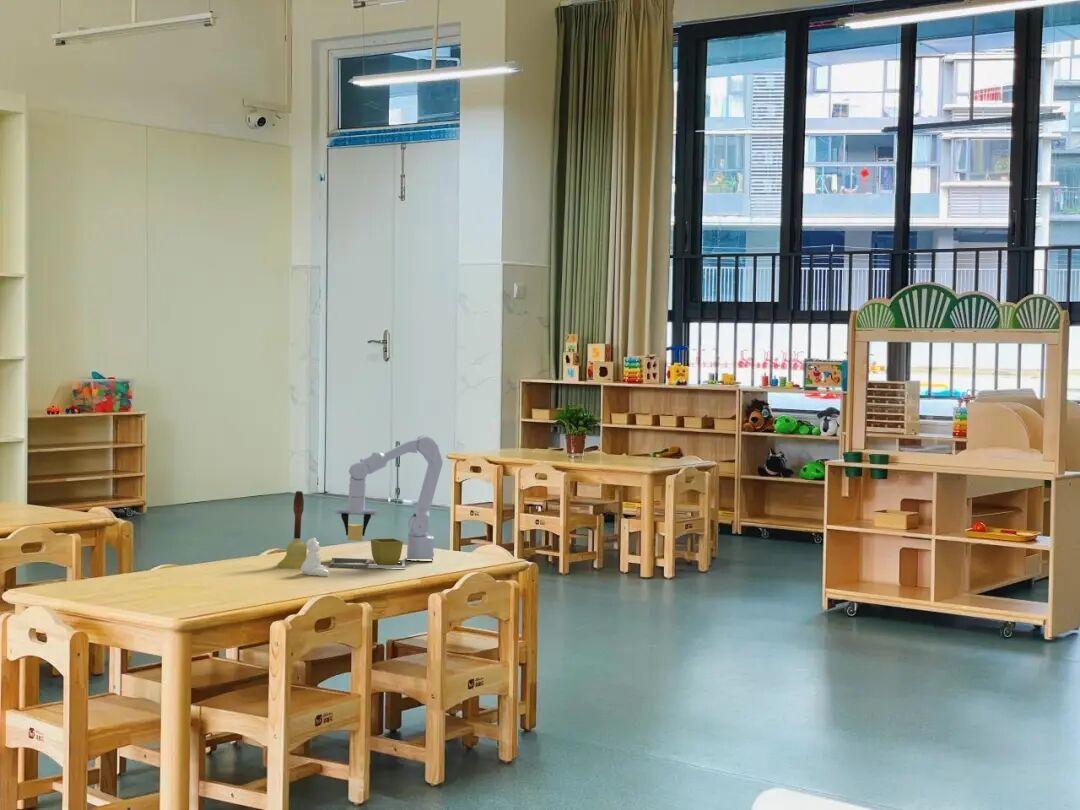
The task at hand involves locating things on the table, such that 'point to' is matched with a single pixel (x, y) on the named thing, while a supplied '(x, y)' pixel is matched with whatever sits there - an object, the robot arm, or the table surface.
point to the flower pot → (386, 551)
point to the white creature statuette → (313, 560)
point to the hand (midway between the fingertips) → (355, 535)
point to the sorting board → (362, 564)
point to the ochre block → (355, 532)
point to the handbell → (296, 538)
